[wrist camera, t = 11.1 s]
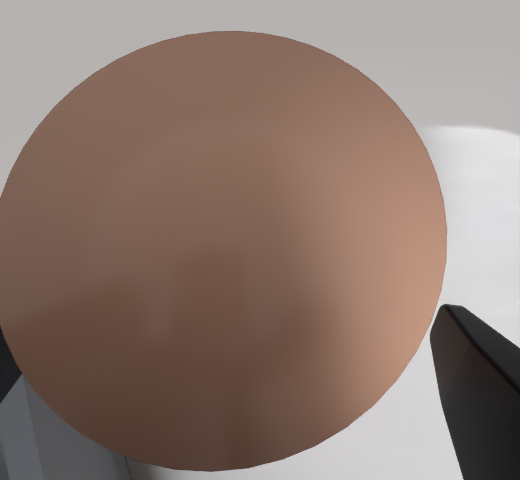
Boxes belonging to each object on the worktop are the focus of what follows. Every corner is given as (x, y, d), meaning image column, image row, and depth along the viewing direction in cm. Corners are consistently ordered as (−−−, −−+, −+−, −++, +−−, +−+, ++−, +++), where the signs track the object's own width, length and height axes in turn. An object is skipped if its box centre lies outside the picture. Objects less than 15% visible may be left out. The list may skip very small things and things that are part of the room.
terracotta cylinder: (337, 336, 16) (551, 327, 3) (237, 384, 16) (57, 574, 3) (289, 240, 17) (312, -22, 5) (195, 282, 17) (-46, 124, 4)
